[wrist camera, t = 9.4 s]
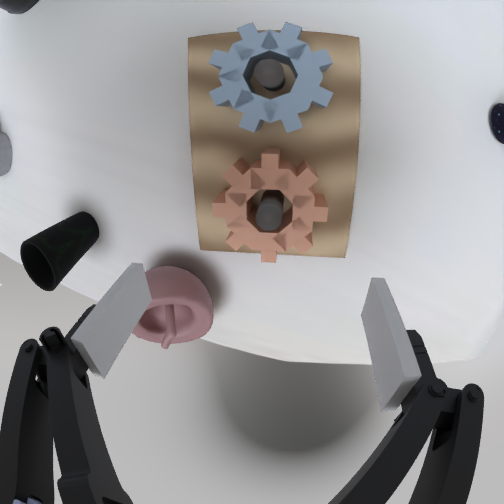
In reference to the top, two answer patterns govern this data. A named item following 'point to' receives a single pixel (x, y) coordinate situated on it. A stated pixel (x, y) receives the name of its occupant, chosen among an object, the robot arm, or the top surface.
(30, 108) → the top surface
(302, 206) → the loose gear
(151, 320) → the mortar and pestle
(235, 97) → the seated gear
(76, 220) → the cup
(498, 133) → the beverage can
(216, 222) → the gear board
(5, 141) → the mug
